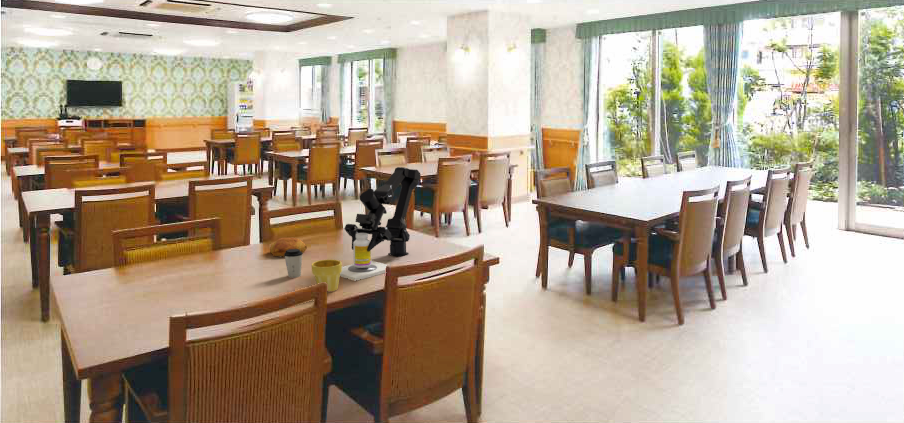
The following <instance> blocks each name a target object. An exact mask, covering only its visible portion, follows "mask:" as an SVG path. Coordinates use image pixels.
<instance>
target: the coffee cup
mask: <svg viewBox="0 0 904 423" xmlns="http://www.w3.org/2000/svg"><path fill="white" fill-rule="evenodd" d="M303 254H304V253H302V252H301V251H300V250H299V249H289V250H286V253H285V254H284V256H285V257H284V260H285V264H286V270H287V276H288V277H289V278H295V279H296V278H299V277H301V275H302V264H303V263H302V261H303Z"/></svg>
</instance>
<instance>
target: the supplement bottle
mask: <svg viewBox="0 0 904 423" xmlns="http://www.w3.org/2000/svg"><path fill="white" fill-rule="evenodd" d="M368 237H369V234H367V233H357V234H356V240H355V241H354V242H353V250H352V252H353V264H354V266H355V267H357V268H367V267H369V266H370V265H371V261H372V254H371V253H372V250H370V251H369V252H368V251H367V248H368V246H369V243H370V241H371V240H369V239H368Z"/></svg>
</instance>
